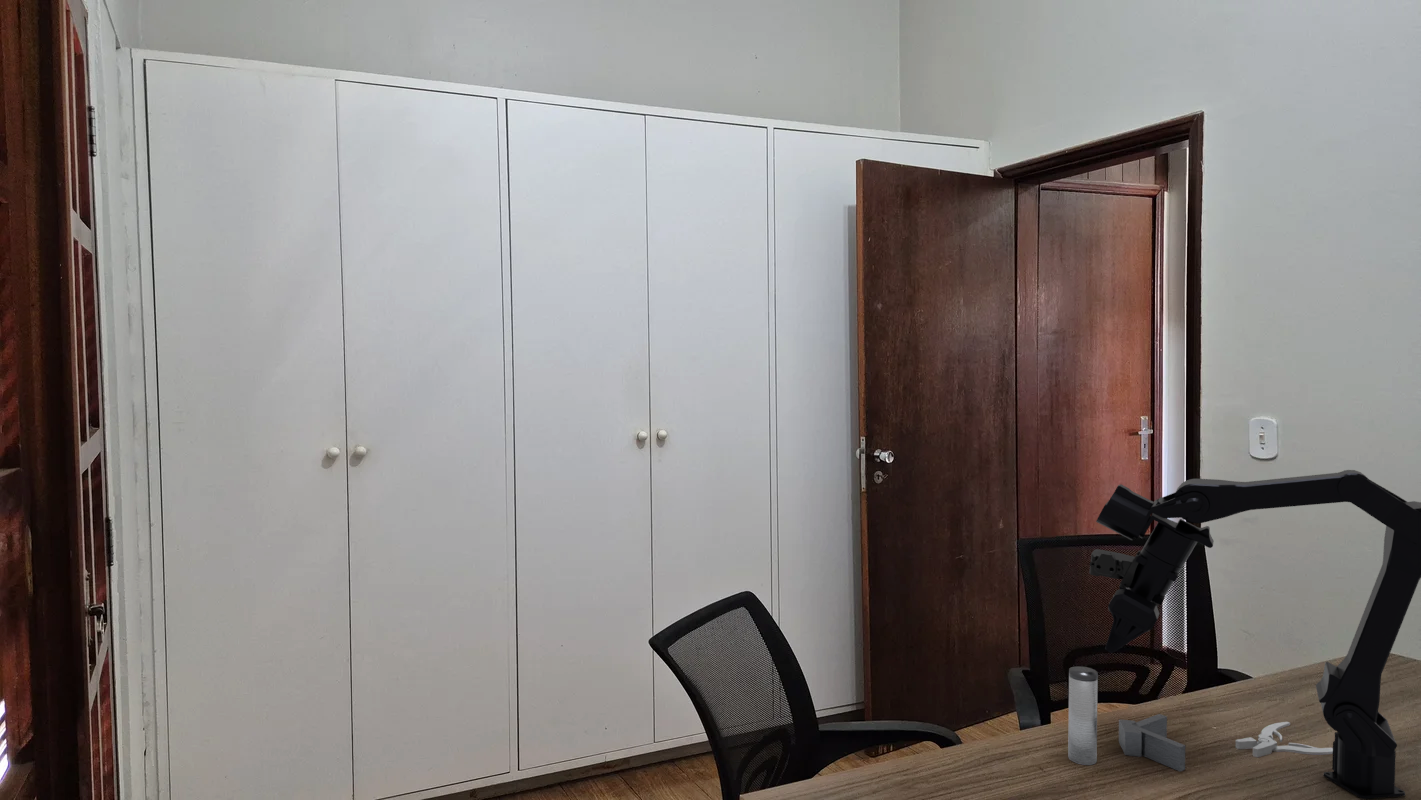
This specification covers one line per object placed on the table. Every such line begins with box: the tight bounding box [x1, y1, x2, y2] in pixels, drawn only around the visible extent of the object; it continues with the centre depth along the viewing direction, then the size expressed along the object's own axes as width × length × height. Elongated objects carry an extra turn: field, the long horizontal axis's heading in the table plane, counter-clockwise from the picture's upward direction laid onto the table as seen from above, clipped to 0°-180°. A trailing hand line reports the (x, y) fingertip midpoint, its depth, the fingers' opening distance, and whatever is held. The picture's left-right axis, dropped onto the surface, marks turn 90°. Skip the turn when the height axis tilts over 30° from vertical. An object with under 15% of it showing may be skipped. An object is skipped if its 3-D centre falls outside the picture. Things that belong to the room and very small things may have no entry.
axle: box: [1067, 665, 1099, 766], centre depth 124 cm, size 4×4×13 cm
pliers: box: [1235, 721, 1333, 758], centre depth 128 cm, size 10×2×15 cm
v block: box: [1118, 713, 1186, 772], centre depth 126 cm, size 7×12×4 cm, turn 165°
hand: (1112, 642), depth 131 cm, fingers open, 9 cm apart
